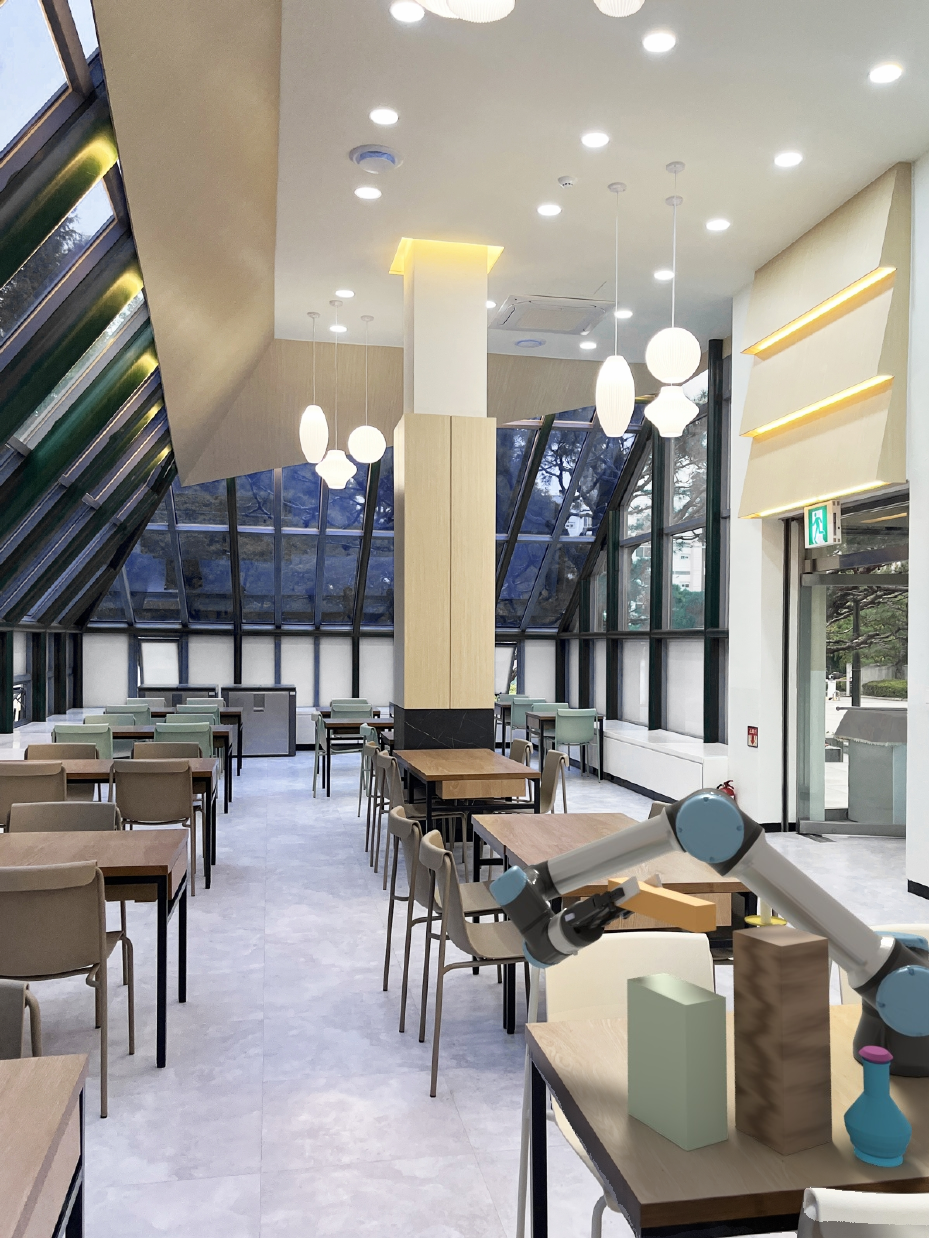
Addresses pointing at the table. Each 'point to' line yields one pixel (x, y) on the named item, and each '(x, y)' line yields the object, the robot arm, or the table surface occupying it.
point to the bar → (670, 907)
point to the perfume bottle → (877, 1114)
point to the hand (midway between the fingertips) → (647, 883)
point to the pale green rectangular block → (677, 1059)
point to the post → (782, 1037)
